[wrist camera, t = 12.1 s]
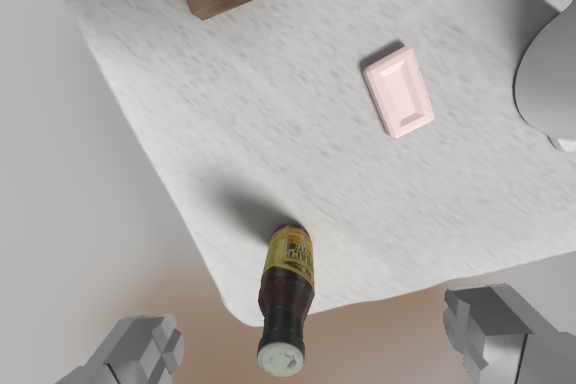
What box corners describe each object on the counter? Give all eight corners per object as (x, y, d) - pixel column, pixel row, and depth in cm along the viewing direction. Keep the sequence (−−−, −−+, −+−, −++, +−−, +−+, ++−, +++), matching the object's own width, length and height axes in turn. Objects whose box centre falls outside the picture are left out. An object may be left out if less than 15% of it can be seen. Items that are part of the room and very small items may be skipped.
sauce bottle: (319, 243, 41) (338, 371, 23) (287, 264, 43) (280, 399, 25) (293, 212, 40) (290, 324, 21) (260, 234, 41) (231, 357, 23)
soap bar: (387, 137, 36) (393, 140, 33) (360, 69, 33) (365, 68, 31) (428, 117, 35) (437, 119, 32) (403, 46, 32) (412, 43, 30)
